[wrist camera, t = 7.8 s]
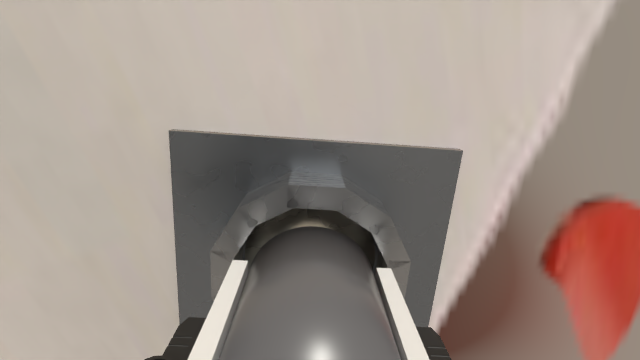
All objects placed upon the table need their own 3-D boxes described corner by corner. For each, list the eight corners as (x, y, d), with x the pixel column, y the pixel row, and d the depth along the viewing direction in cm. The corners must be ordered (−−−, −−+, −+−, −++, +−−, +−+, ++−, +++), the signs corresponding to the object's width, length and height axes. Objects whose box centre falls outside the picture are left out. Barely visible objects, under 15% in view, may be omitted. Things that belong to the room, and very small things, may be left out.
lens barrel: (247, 332, 18) (194, 533, 10) (248, 222, 16) (185, 359, 8) (365, 338, 18) (407, 538, 10) (380, 230, 16) (445, 370, 8)
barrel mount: (183, 339, 22) (164, 378, 19) (172, 129, 18) (146, 138, 15) (420, 349, 23) (435, 388, 20) (459, 149, 19) (485, 161, 16)
